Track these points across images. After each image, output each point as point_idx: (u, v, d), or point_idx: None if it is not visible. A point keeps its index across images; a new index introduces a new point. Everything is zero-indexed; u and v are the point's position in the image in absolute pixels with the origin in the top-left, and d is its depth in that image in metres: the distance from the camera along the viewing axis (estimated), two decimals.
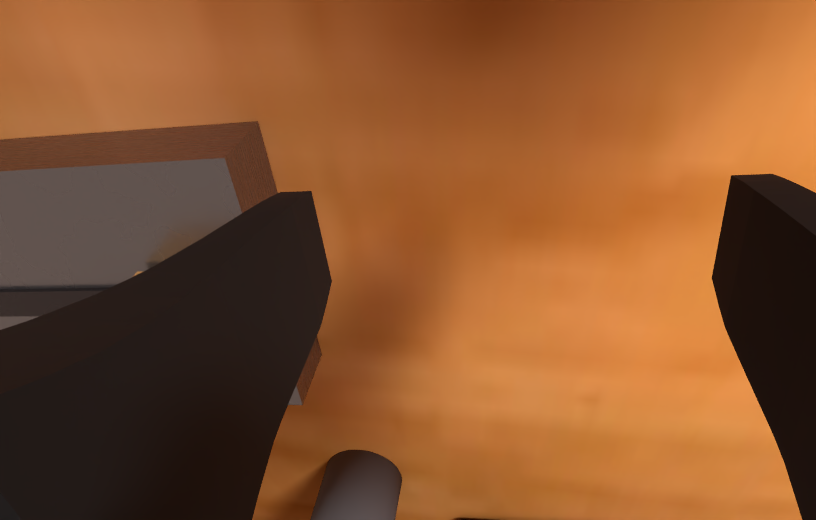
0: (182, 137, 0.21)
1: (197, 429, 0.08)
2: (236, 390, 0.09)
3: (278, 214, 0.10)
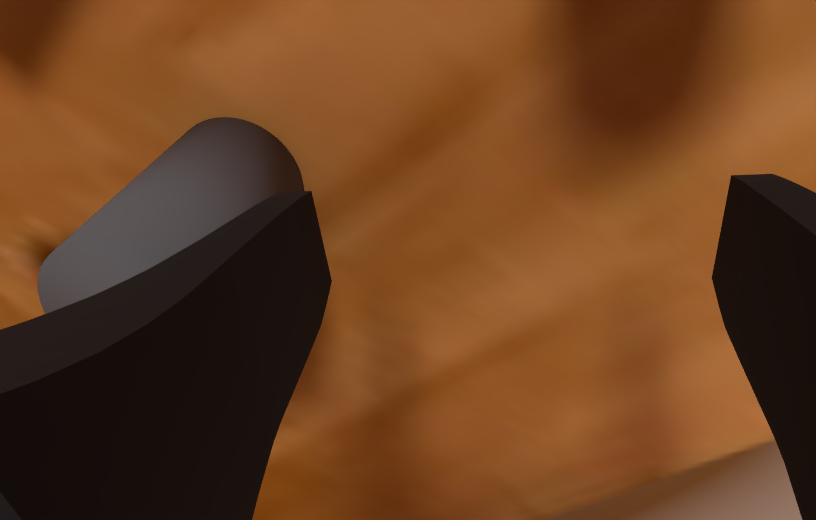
0: None
1: (197, 429, 0.08)
2: (236, 390, 0.09)
3: (278, 214, 0.10)
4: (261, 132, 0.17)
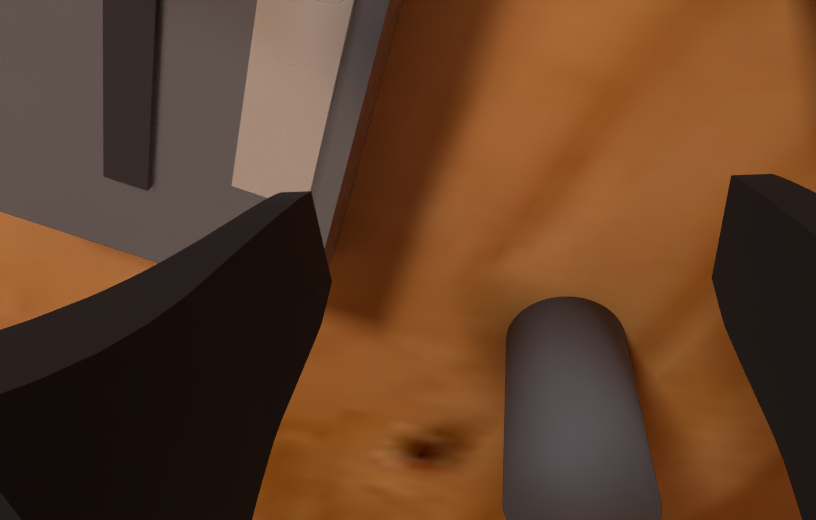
0: None
1: (197, 429, 0.08)
2: (236, 390, 0.09)
3: (278, 214, 0.10)
4: (579, 302, 0.20)
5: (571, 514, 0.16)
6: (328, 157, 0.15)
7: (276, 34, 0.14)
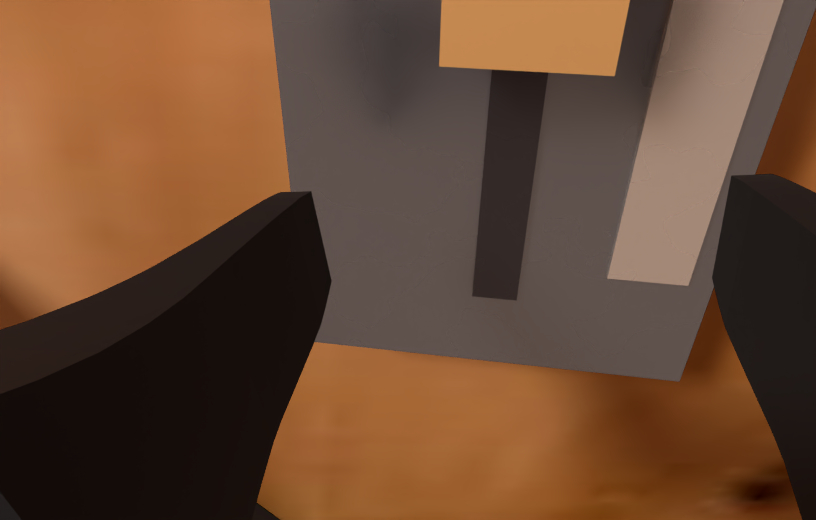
0: None
1: (197, 429, 0.08)
2: (236, 390, 0.09)
3: (278, 214, 0.10)
4: None
5: None
6: (713, 229, 0.15)
7: (668, 126, 0.13)
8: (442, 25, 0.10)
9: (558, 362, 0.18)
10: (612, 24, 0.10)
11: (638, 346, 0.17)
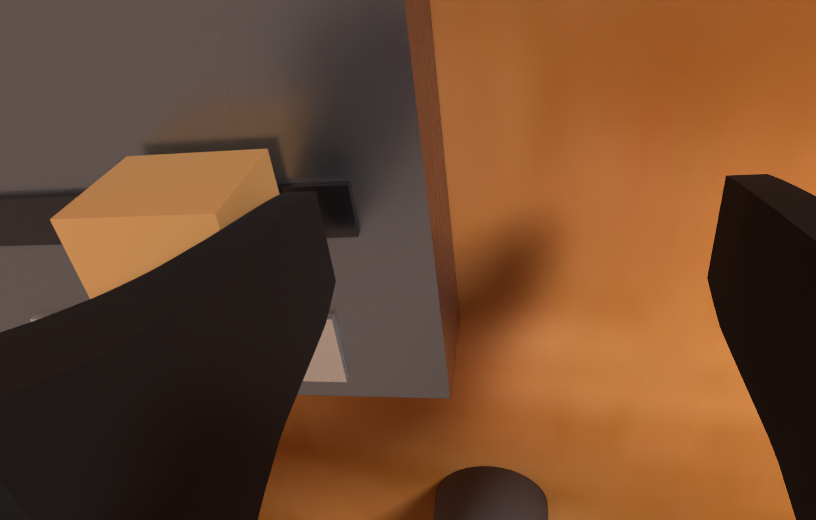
0: None
1: (204, 429, 0.08)
2: (242, 390, 0.09)
3: (283, 214, 0.10)
4: None
5: None
6: None
7: None
8: (86, 220, 0.10)
9: None
10: None
11: None
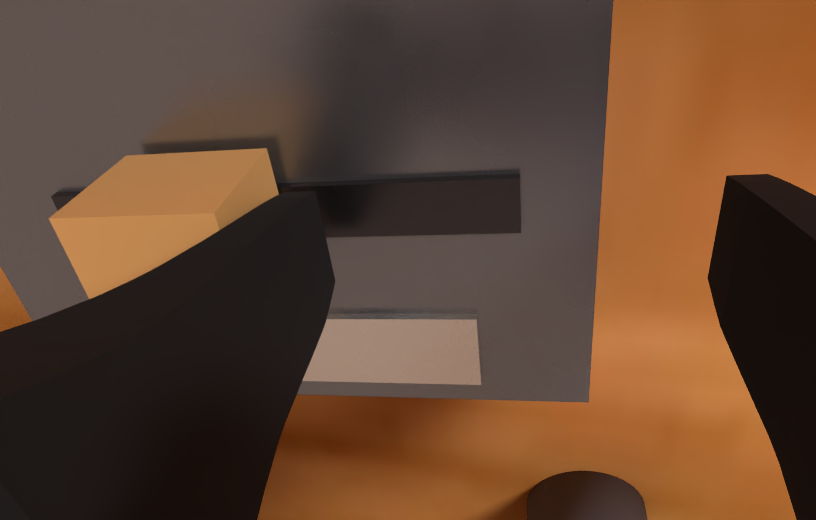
0: None
1: (203, 429, 0.08)
2: (241, 390, 0.09)
3: (282, 214, 0.10)
4: None
5: None
6: None
7: None
8: (85, 220, 0.10)
9: (22, 289, 0.15)
10: None
11: None
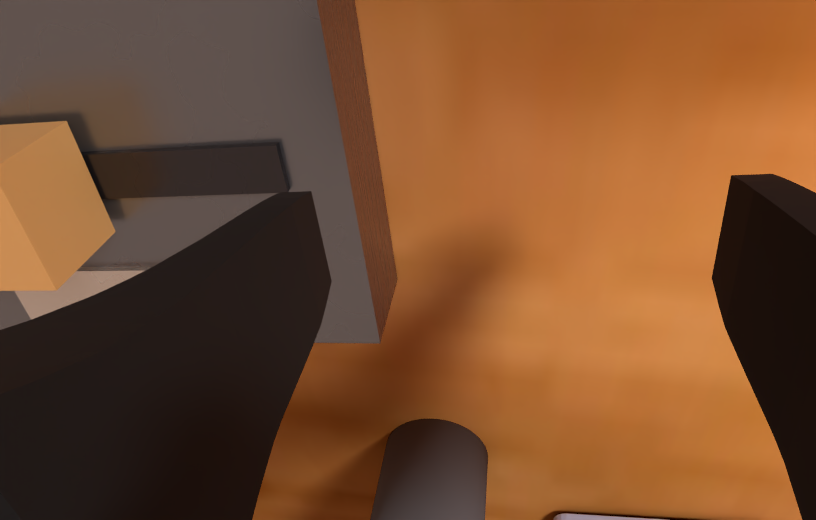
0: None
1: (197, 429, 0.08)
2: (236, 390, 0.09)
3: (277, 214, 0.10)
4: None
5: None
6: None
7: None
8: None
9: None
10: None
11: None
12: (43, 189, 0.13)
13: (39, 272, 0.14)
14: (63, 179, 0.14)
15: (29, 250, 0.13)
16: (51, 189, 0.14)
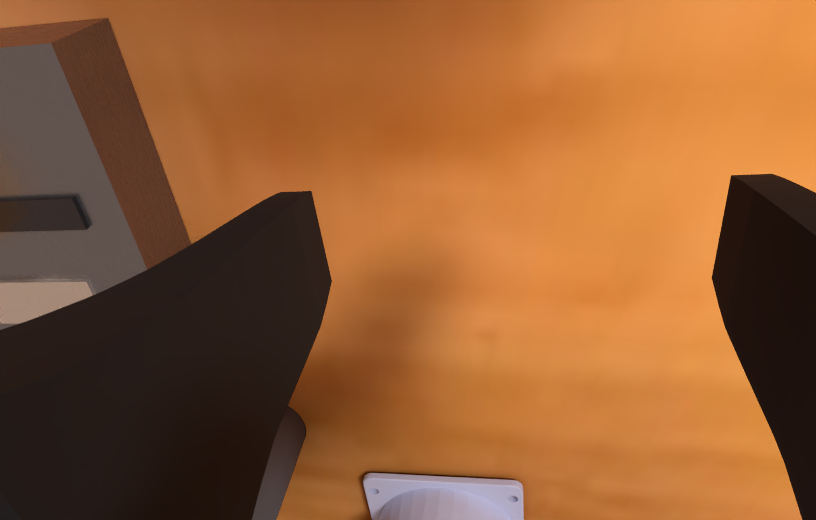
0: (23, 32, 0.20)
1: (197, 429, 0.08)
2: (236, 390, 0.09)
3: (278, 214, 0.10)
4: None
5: None
6: None
7: (2, 293, 0.24)
8: None
9: None
10: None
11: None
12: None
13: None
14: None
15: None
16: None
